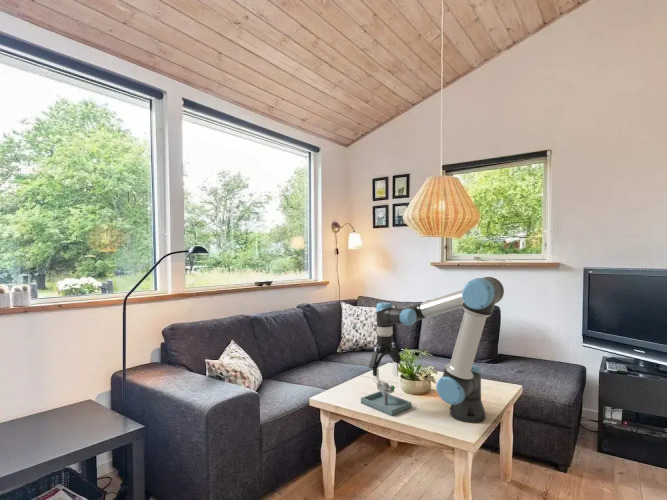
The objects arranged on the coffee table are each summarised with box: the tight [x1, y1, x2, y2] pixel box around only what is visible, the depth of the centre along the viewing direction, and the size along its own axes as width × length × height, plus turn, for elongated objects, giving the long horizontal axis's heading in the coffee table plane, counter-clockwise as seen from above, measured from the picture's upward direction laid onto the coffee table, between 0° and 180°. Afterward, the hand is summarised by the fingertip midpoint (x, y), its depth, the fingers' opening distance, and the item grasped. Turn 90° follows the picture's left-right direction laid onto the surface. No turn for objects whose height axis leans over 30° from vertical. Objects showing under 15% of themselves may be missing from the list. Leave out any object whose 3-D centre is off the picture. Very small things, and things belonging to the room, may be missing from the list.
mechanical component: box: [375, 380, 395, 405], centre depth 185 cm, size 3×10×10 cm, turn 41°
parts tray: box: [360, 390, 413, 417], centre depth 185 cm, size 20×14×3 cm
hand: (386, 379), depth 185 cm, fingers open, 13 cm apart
